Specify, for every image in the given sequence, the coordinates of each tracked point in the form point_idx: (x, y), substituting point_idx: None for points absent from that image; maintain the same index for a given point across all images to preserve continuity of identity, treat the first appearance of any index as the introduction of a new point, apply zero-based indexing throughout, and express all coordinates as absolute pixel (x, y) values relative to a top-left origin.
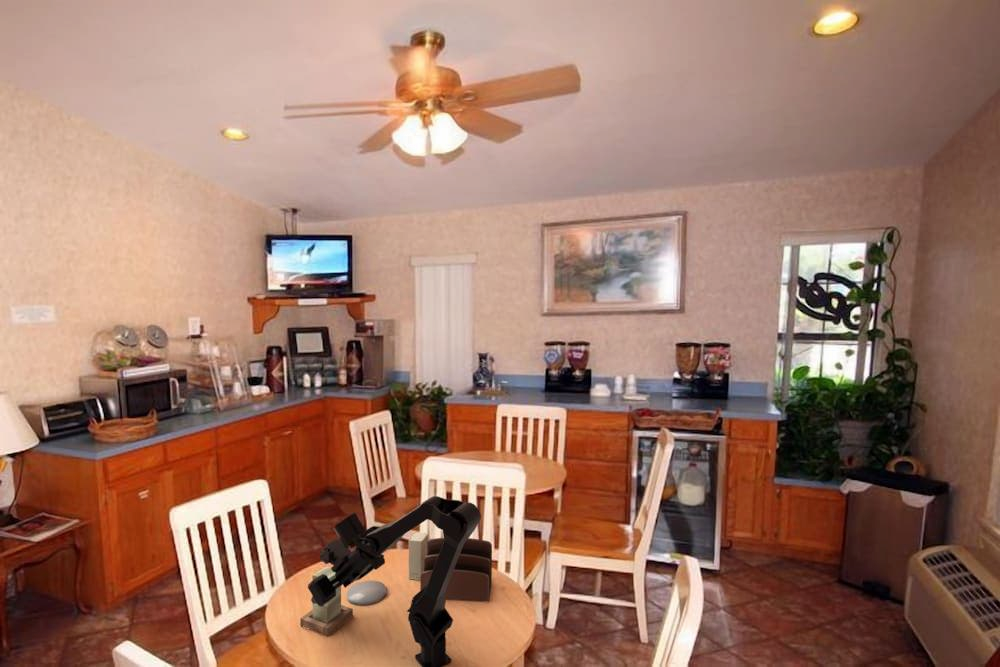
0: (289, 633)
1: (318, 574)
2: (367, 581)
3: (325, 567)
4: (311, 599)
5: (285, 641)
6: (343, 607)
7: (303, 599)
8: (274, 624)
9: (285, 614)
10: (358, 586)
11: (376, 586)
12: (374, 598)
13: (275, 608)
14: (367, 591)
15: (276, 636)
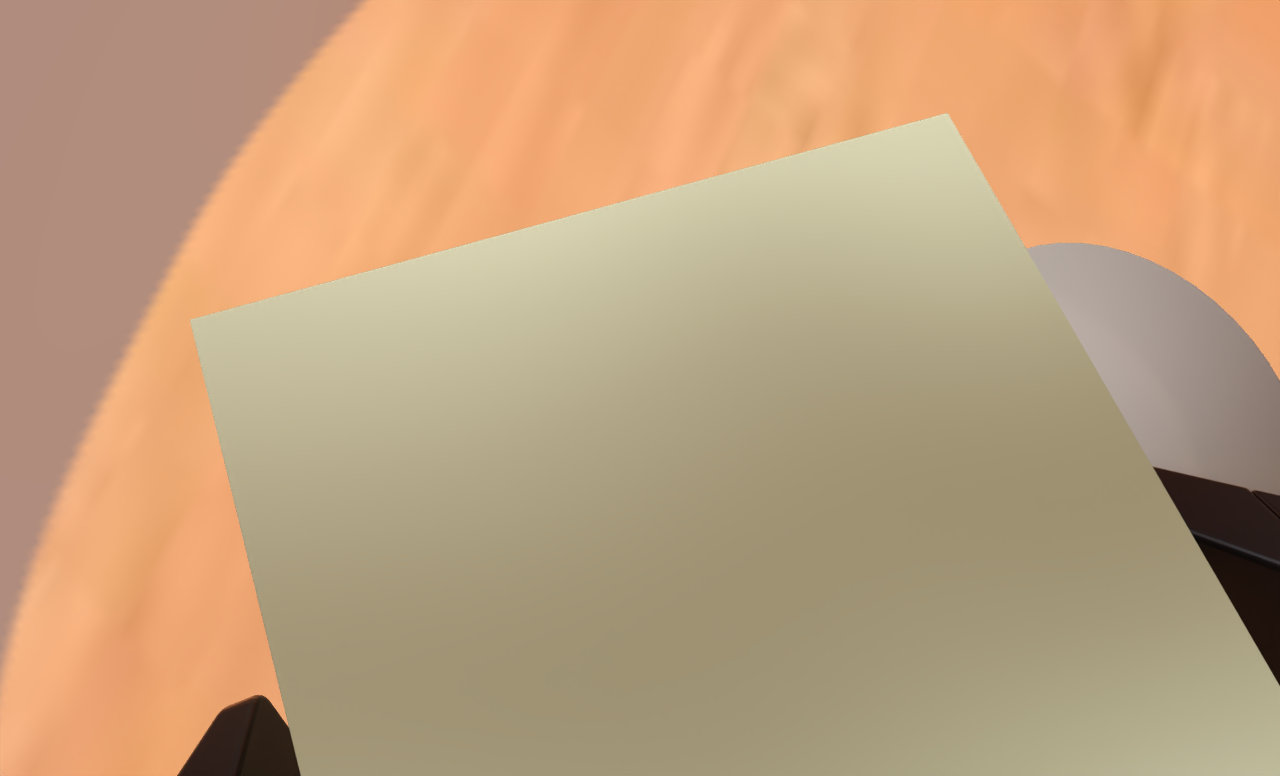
0: (194, 527)
1: (419, 464)
2: (1170, 285)
3: (879, 158)
4: (199, 754)
5: (78, 643)
6: None
7: (581, 103)
8: (176, 271)
9: (342, 196)
10: (1072, 301)
11: (1228, 428)
12: None
13: (324, 53)
14: None
15: (67, 480)
